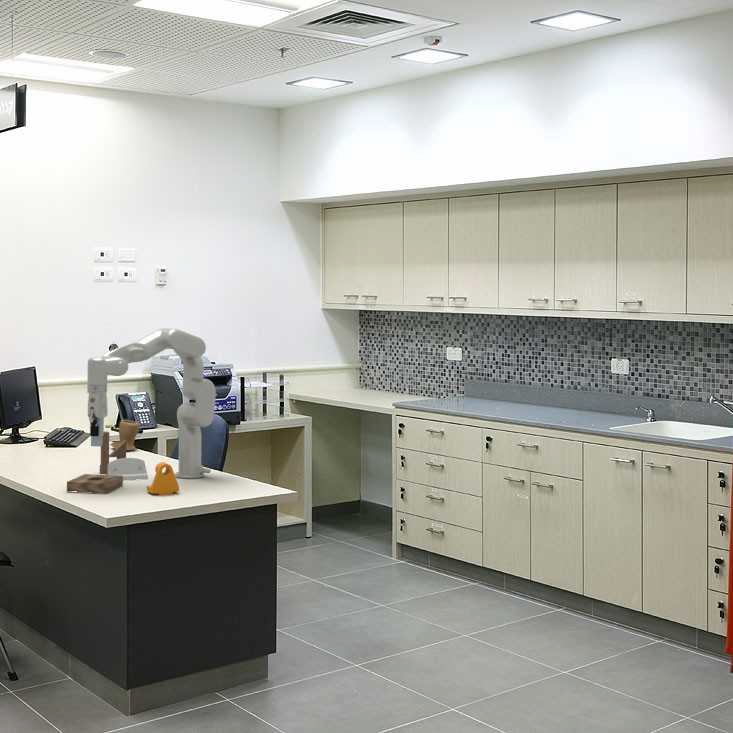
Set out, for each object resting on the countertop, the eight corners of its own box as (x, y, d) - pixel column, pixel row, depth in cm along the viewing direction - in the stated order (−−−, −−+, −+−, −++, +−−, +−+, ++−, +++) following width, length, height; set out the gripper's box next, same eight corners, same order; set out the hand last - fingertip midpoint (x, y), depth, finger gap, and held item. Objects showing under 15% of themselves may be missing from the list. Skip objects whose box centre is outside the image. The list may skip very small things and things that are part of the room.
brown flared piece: (141, 451, 501) (142, 421, 500) (117, 452, 495) (118, 422, 494) (133, 447, 514) (133, 417, 513) (109, 448, 508) (109, 418, 507)
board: (122, 485, 410) (122, 475, 410) (106, 493, 393) (106, 483, 392) (84, 483, 412) (84, 474, 412) (66, 492, 394) (66, 481, 394)
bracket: (172, 490, 403) (172, 460, 403) (178, 493, 397) (179, 463, 396) (146, 492, 398) (146, 462, 397) (152, 495, 392) (152, 464, 391)
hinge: (109, 481, 418) (107, 457, 421) (106, 483, 422) (104, 460, 425) (149, 479, 426) (147, 455, 429) (146, 481, 430) (144, 457, 433)
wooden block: (126, 473, 439) (126, 431, 438) (100, 474, 435) (101, 432, 434) (124, 471, 442) (125, 430, 441) (99, 472, 438) (99, 431, 437)
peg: (103, 445, 403) (104, 410, 402) (99, 446, 399) (100, 411, 398) (93, 444, 403) (93, 409, 403) (89, 446, 399) (89, 410, 398)
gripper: (98, 391, 391) (98, 438, 392) (113, 387, 408) (113, 433, 409) (79, 390, 392) (79, 437, 393) (95, 387, 408) (95, 432, 410)
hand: (96, 434), depth 401 cm, fingers closed on peg, 4 cm apart
